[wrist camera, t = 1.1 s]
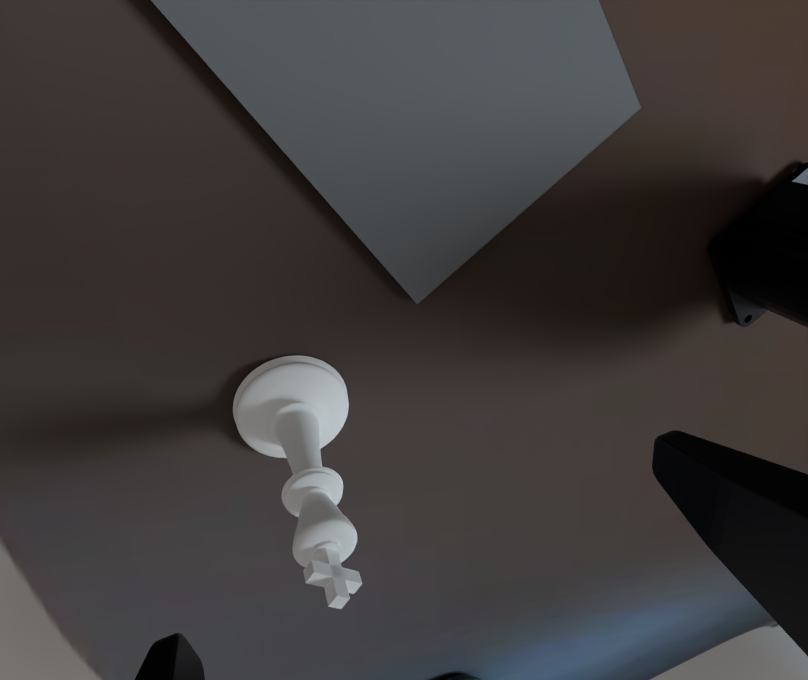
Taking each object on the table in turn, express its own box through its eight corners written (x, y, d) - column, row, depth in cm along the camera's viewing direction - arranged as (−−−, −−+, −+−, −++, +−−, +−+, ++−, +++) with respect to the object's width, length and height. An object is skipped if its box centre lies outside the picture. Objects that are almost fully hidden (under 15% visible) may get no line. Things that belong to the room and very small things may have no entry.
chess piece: (272, 335, 21) (312, 515, 13) (368, 382, 24) (455, 558, 15) (210, 427, 22) (210, 651, 14) (308, 463, 24) (360, 670, 16)
